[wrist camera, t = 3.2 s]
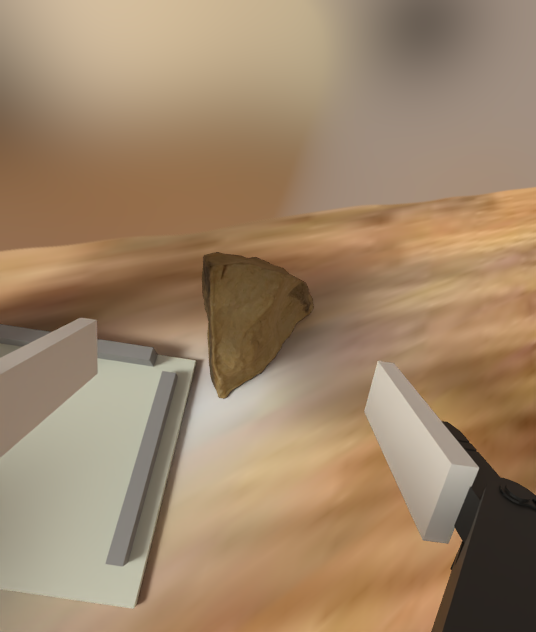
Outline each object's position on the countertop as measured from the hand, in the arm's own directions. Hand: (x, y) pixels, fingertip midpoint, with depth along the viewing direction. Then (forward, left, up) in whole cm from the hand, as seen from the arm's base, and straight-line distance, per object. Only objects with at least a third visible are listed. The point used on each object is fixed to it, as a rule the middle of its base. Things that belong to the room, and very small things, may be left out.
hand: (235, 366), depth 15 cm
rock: (-1, -6, -11) cm, 12 cm away
